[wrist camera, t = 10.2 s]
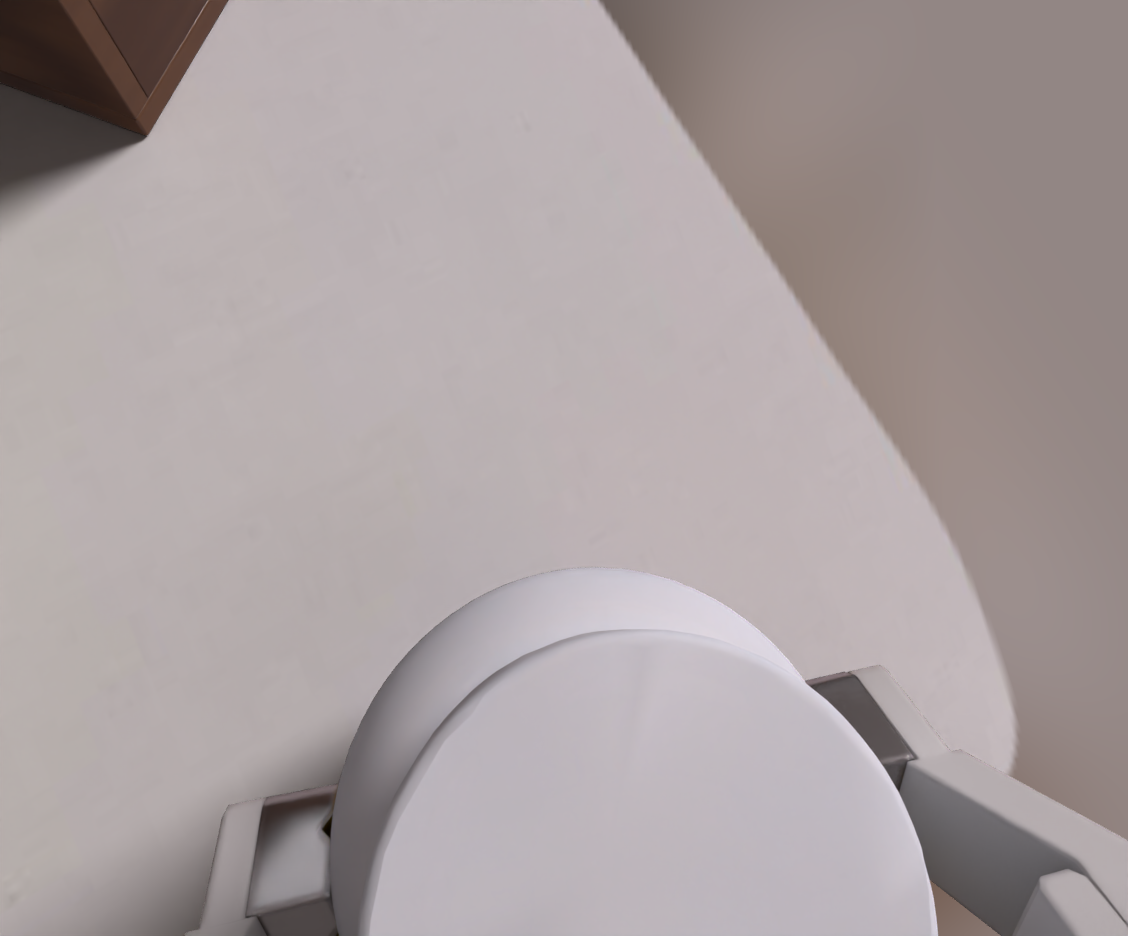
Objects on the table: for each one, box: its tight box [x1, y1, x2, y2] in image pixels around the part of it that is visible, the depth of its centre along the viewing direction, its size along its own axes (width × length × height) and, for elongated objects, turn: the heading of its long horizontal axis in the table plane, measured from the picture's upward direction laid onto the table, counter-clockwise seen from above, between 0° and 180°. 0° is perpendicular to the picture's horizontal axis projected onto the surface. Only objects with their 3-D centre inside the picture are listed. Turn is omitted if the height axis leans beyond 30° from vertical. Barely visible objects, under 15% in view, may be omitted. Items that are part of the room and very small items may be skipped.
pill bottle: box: [330, 567, 938, 936], centre depth 11 cm, size 6×6×12 cm
